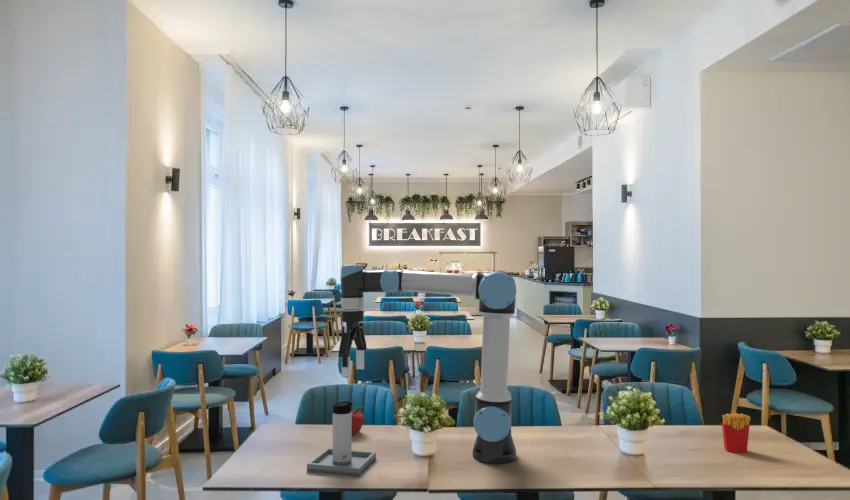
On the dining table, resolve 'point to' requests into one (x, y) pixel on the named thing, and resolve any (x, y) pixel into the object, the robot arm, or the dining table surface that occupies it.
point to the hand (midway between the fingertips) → (353, 372)
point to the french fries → (735, 432)
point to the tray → (355, 468)
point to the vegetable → (357, 420)
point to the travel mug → (342, 433)
